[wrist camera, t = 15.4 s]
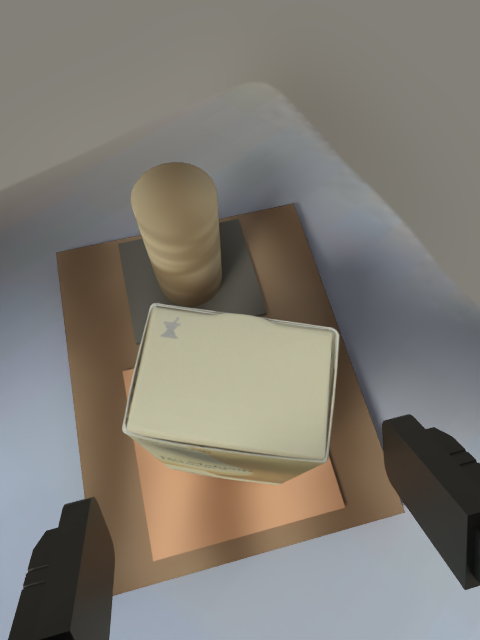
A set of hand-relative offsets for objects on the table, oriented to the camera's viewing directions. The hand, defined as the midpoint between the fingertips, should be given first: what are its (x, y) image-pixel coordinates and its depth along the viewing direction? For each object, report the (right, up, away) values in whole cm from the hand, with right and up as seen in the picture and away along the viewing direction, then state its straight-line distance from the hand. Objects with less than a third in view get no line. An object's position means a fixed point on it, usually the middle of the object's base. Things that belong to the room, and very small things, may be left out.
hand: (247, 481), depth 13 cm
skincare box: (-1, -2, +13) cm, 13 cm away
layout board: (-2, +1, +15) cm, 15 cm away
